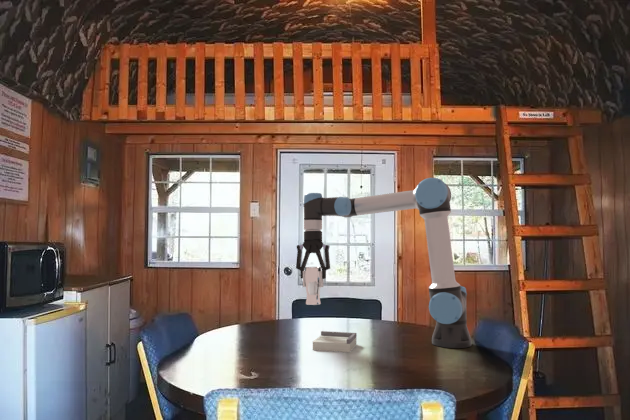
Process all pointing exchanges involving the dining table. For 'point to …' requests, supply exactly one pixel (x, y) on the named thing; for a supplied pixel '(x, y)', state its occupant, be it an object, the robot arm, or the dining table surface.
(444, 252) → the robot arm
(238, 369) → the dining table surface
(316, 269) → the beer glass
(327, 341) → the dock
